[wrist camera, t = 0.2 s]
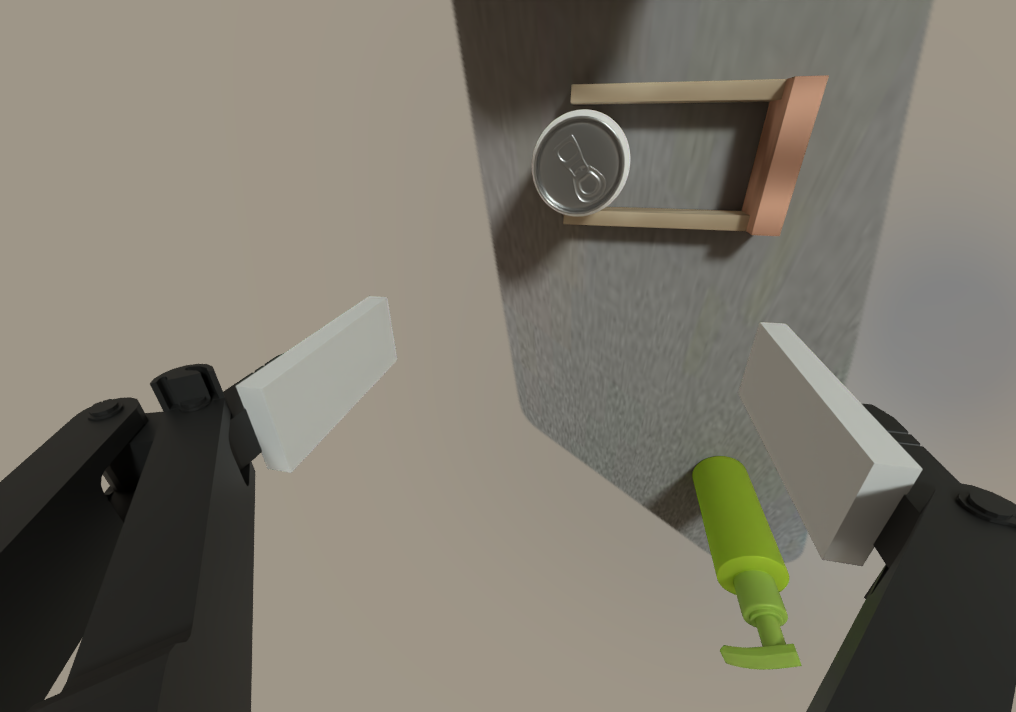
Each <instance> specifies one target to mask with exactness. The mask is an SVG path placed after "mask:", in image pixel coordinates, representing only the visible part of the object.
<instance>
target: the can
mask: <svg viewBox="0 0 1016 712" xmlns="http://www.w3.org/2000/svg"><path fill="white" fill-rule="evenodd" d="M629 169H630V150H629V145H628V142H627V139H626V136H625V134H624V132H623V131H622V129H621V128H620V126H619V125H618V124H617V123H616V122H615V121H614V120H613V119H612V118H610V117H609V116H607V115H605V114H603V113H601V112H598V111H595V110H588V109H581V110H575V111H571V112H568V113H565V114H563V115H561V116H560V117H558V118H557V119H555V120H554V121H553V122H552V123H551V124H549V126H548V127H547V128H546V129H545V130H544V131H543V133H542V134H541V136H540V138H539V139H538V141H537V144H536V146H535V149H534V153H533V158H532V176H533V181H534V184H535V187H536V189H537V191H538V193H539V195H540V196H541V198H542V199H543V201H544V202H545V203H546V204H547V205H548V206H550V207H551V208H552V209H554V210H555V211H557V212H559V213H561V214H564V215H568V216H577V217H578V216H587V215H591V214H594V213H596V212H598V211H600V210H602V209H604V208H605V207H607V206H608V205H609V204H610V203H611V202H612V201H613V200H614V199H615V198H616V197H617V196H618V195H619V193H620V192H621V190H622V188H623V187H624V185H625V182H626V180H627V177H628V173H629Z"/></svg>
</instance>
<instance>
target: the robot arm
mask: <svg viewBox="0 0 1016 712" xmlns="http://www.w3.org/2000/svg"><path fill="white" fill-rule="evenodd" d="M396 361H397V355H396V348H395V342H394V336H393V330H392V324H391V317H390V311H389V305H388V299H387V297H376V296H369V297H367V298H366V299H364V300H363V301H361V302H360V303H358V304H357V305H355V306H354V307H352V308H351V309H349V310H348V311H346V312H345V313H343V314H342V315H340V316H339V317H337V318H336V319H334V320H333V321H331V322H330V323H328V324H327V325H325V326H324V327H323V328H321V329H319V330H318V331H317V332H315V333H314V334H312V335H311V336H309V337H308V338H306V339H305V340H303V341H302V342H300V343H299V344H297V345H296V346H294V347H293V348H291V349H290V350H288V351H287V352H285V353H283V354H281V355H278V356H276V357H275V358H273V359H272V360H270V361H269V362H267V363H266V364H265V366H261V367H260V368H258V369H257V370H255V373H251V374H249V375H248V376H246V377H245V378H243V379H242V380H240V381H239V382H237V383H236V384H234V385H233V386H231V387H230V388H228V389H227V390H225V391H224V392H223V391H222V388H221V386H220V384H219V381H218V379H217V377H216V374H215V371H214V369H213V367H212V366H210V365H207V364H194V365H186V366H183V367H179V368H176V369H172V370H170V371H168V372H165V373H163V374H161V375H160V376H158V377H156V378H154V380H153V381H152V382H151V383H150V385H151V387H152V389H153V391H154V393H155V395H156V397H157V399H158V401H159V403H160V405H161V407H162V409H163V411H164V412H156V413H144V411H143V409H142V407H141V405H140V403H139V402H138V400H137V399H134V398H118V399H113V400H112V399H109V400H105V401H103V402H99V403H96V404H94V405H93V406H92V407H89V408H87V409H85V410H83V411H82V412H80V413H79V414H77V415H76V416H75V417H73V418H72V419H71V420H70V421H69V422H68V423H67V424H65V426H63V427H62V428H61V429H60V430H59V431H58V432H56V433H55V434H54V435H53V436H52V437H51V438H50V439H48V440H47V441H46V442H45V443H44V444H43V445H42V446H41V447H39V448H38V449H37V450H36V451H35V452H34V453H33V454H32V455H30V456H29V457H28V458H27V459H26V460H25V461H24V462H22V463H21V464H20V465H19V466H18V467H17V468H16V469H15V470H13V471H12V472H11V473H10V474H9V475H8V476H7V477H5V478H4V479H3V480H2V481H1V482H0V712H251V678H252V677H251V676H252V623H253V567H254V514H255V512H254V510H255V470H254V467H253V465H252V462H251V461H252V460H253V459H254V458H255V457H257V455H259V454H260V453H262V455H263V458H264V461H265V463H266V466H267V468H268V469H272V470H279V471H285V472H292V471H293V470H294V469H295V468H296V467H297V466H298V465H299V464H300V463H301V462H302V461H303V460H304V459H305V458H306V456H308V454H309V453H310V452H311V451H312V450H313V449H314V448H315V447H316V446H317V445H318V444H319V443H320V441H322V439H323V438H324V437H325V436H326V435H327V434H328V433H329V432H330V431H331V430H332V429H333V428H334V427H335V426H336V425H337V424H338V422H339V421H340V420H341V419H342V418H343V417H344V416H345V415H346V414H347V413H348V412H349V411H350V410H351V409H352V407H353V406H354V405H355V404H356V403H357V402H358V401H359V400H360V399H361V398H362V397H363V396H364V395H365V394H366V393H367V392H368V391H369V389H370V388H371V387H372V386H373V385H374V384H375V383H376V382H377V381H378V380H379V379H380V378H381V377H382V376H383V375H384V374H385V372H386V371H387V370H388V369H389V368H390V367H391V366H392V365H393V364H394V363H395V362H396ZM738 394H739V396H740V398H741V400H742V402H743V404H744V406H745V408H746V410H747V412H748V414H749V416H750V418H751V420H752V422H753V424H754V426H755V428H756V430H757V432H758V434H759V436H760V438H761V440H762V442H763V444H764V446H765V448H766V450H767V452H768V453H769V455H770V457H771V459H772V461H773V463H774V465H775V467H776V469H777V471H778V473H779V475H780V477H781V479H782V481H783V483H784V485H785V487H786V489H787V491H788V493H789V495H790V497H791V499H792V501H793V503H794V505H795V507H796V509H797V511H798V513H799V515H800V517H801V519H802V521H803V523H804V525H805V527H806V529H807V531H808V533H809V535H810V537H811V539H812V541H813V543H814V545H815V546H816V549H817V551H818V553H819V555H820V557H821V558H822V560H827V561H834V562H840V563H846V564H852V565H858V566H863V564H864V563H865V561H866V560H867V558H868V556H869V555H870V553H871V552H872V550H873V548H874V547H875V548H876V550H877V551H878V553H879V554H880V556H881V557H882V559H883V560H884V562H885V564H886V565H885V567H884V568H883V570H882V571H881V573H880V574H879V576H878V577H877V579H876V580H875V582H874V583H873V585H872V586H871V588H870V589H869V591H868V592H867V594H866V595H865V597H864V598H865V599H866V600H865V602H864V604H863V606H862V608H861V610H860V611H859V614H858V615H857V617H856V619H855V621H854V623H853V625H852V627H851V628H850V630H849V632H848V634H847V636H846V638H845V640H844V642H843V644H842V645H841V647H840V649H839V651H838V653H837V655H836V657H835V659H834V660H833V663H832V664H831V666H830V668H829V670H828V672H827V674H826V676H825V677H824V679H823V681H822V683H821V685H820V687H819V689H818V691H817V692H816V694H815V696H814V698H813V700H812V702H811V704H810V706H809V708H808V709H807V711H806V712H1011V709H1012V704H1013V698H1014V693H1015V687H1016V504H1014V503H1012V502H1011V501H1009V500H1007V499H1005V498H1003V497H1001V496H999V495H996V494H994V493H993V492H990V491H987V490H984V489H981V488H978V487H975V486H972V485H966V484H961V483H960V482H959V481H958V480H957V479H955V478H954V476H953V475H951V474H950V473H949V472H948V471H947V470H946V469H945V468H944V467H943V466H942V465H941V464H940V463H939V462H938V461H937V460H936V459H935V458H934V457H933V456H932V455H931V454H930V453H929V452H928V451H927V450H926V449H925V448H924V447H922V446H920V443H919V442H918V441H917V440H916V439H915V438H914V437H913V436H912V435H910V434H908V431H907V430H906V429H905V428H904V427H903V426H902V425H901V424H900V423H899V422H898V421H897V420H896V419H895V418H894V417H892V416H890V415H889V414H887V413H885V412H884V411H882V410H880V409H879V408H877V407H875V406H873V405H870V404H861V403H860V402H859V401H858V400H857V399H856V398H855V397H854V396H853V395H852V393H850V391H849V390H848V389H847V388H846V387H845V386H844V385H843V384H842V383H841V382H840V381H839V380H838V379H837V378H836V376H835V375H834V374H833V373H832V372H831V371H830V370H829V369H828V368H827V367H826V366H825V365H824V364H823V363H822V362H821V361H820V360H819V358H818V357H817V356H816V355H815V354H814V353H813V352H812V351H811V350H810V349H809V348H808V347H807V346H806V345H805V344H804V343H803V341H802V340H801V339H800V338H799V337H798V336H797V335H796V334H795V333H794V332H793V331H792V330H791V329H790V328H789V327H788V326H787V325H786V324H781V323H766V322H760V323H759V326H758V329H757V333H756V336H755V339H754V343H753V346H752V349H751V353H750V356H749V359H748V362H747V366H746V369H745V372H744V376H743V379H742V382H741V386H740V389H739V392H738ZM102 475H103V476H104V477H105V479H106V480H107V482H108V483H109V485H110V487H109V488H108V489H107V490H106V492H105V493H103V490H102V487H101V477H102ZM82 637H83V638H82ZM81 639H82V640H81ZM80 640H81V643H80V646H79V649H78V652H77V654H76V657H75V660H74V663H73V666H72V668H71V671H70V674H69V677H68V680H67V682H66V684H65V686H64V688H63V690H62V692H61V693H60V694H57V695H55V696H53V697H50V698H48V699H46V700H44V699H45V697H46V696H47V694H48V692H49V691H50V689H51V688H52V686H53V684H54V683H55V681H56V679H57V678H58V676H59V674H60V673H61V671H62V670H63V668H64V666H65V665H66V663H67V662H68V660H69V658H70V657H71V655H72V653H73V652H74V650H75V649H76V647H77V645H78V644H79V642H80Z"/></svg>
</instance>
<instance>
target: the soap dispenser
mask: <svg viewBox="0 0 1016 712" xmlns="http://www.w3.org/2000/svg"><path fill="white" fill-rule="evenodd" d="M692 477H693V482H694V486H695V490H696V494H697V498H698V502H699V506H700V510H701V514H702V518H703V523H704V527H705V531H706V535H707V539H708V543H709V547H710V551H711V555H712V559H713V563H714V567H715V571H716V575H717V579H718V582H719V583H720V585H721V586H722V587H723V588H724V589H725V590H727V591H729V592H731V593H733V594H735V595H737V598H738V602H739V605H740V609H741V613H742V616H743V618H744V620H745V621H746V622H747V623H748V624H750V625H752V626H754V627H757V629H758V632H759V636H760V639H761V643H762V646H763V647H752V648H741V647H732V646H726V645H724V646H723V647H722V648H721V649H720V652H721V654H722V656H723V658H724V660H725V662H726V663H727V664H730V665H734V666H738V667H743V668H749V669H780V668H789V667H797V666H801V663H800V660H799V657H798V654H797V652H796V649H795V646H794V644H786V643H785V640H784V637H783V634H782V631H781V628H780V626H782V625H784V624H785V623H786V621H787V619H788V616H787V612H786V609H785V607H784V604H783V601H782V599H781V596H780V593H779V592H781V591H782V590H783V589H784V588H785V587H786V586H787V584H788V582H789V574H788V571H787V569H786V566H785V564H784V561H783V559H782V556H781V554H780V552H779V549H778V547H777V544H776V542H775V539H774V537H773V534H772V532H771V530H770V527H769V525H768V522H767V520H766V517H765V515H764V513H763V510H762V508H761V505H760V503H759V500H758V498H757V495H756V493H755V491H754V488H753V486H752V483H751V481H750V478H749V476H748V473H747V471H746V469H745V467H744V466H743V465H742V464H741V463H740V462H739V461H737V460H735V459H733V458H730V457H725V456H715V457H710V458H707V459H705V460H703V461H701V462H700V463H698V464H697V465H696V466H695V468H694V470H693V473H692Z"/></svg>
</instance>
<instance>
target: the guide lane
mask: <svg viewBox="0 0 1016 712" xmlns="http://www.w3.org/2000/svg"><path fill="white" fill-rule="evenodd" d="M828 77H829V76H796V77H792V78H789V79H771V80H731V81H692V82H652V83H612V84H573V85H572V86H571V104H573V105H591V104H653V103H715V102H769V106H768V110H767V114H766V118H765V122H764V126H763V129H762V133H761V137H760V141H759V145H758V149H757V153H756V157H755V160H754V164H753V168H752V172H751V176H750V180H749V184H748V188H747V191H746V195H745V199H744V203H743V207H742V211H729V210H696V209H662V208H628V207H605V208H604V209H602V210H600V211H598V212H596V213H594V214H591V215H587V216H578V217H577V216H568V215H564V220H563V224H574V225H600V226H626V227H652V228H679V229H705V230H731V231H747V232H748V233H750V234H751V235H765V236H780V233H781V229H782V226H783V223H784V220H785V216H786V213H787V210H788V207H789V203H790V200H791V197H792V194H793V190H794V187H795V184H796V181H797V177H798V174H799V171H800V168H801V165H802V161H803V158H804V155H805V152H806V148H807V145H808V142H809V139H810V135H811V132H812V129H813V126H814V122H815V119H816V116H817V113H818V109H819V106H820V103H821V100H822V96H823V93H824V90H825V87H826V84H827V80H828Z"/></svg>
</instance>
